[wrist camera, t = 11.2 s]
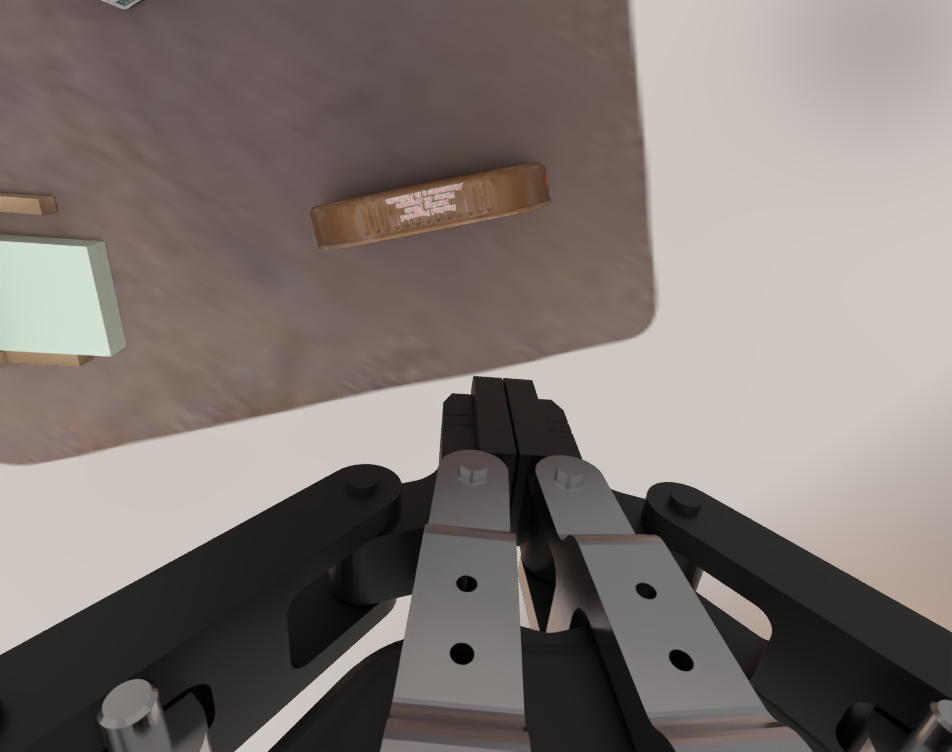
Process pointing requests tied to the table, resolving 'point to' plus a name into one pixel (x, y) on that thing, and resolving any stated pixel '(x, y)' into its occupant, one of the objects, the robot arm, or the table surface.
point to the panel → (57, 297)
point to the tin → (431, 206)
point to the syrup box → (122, 3)
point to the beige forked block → (40, 207)
